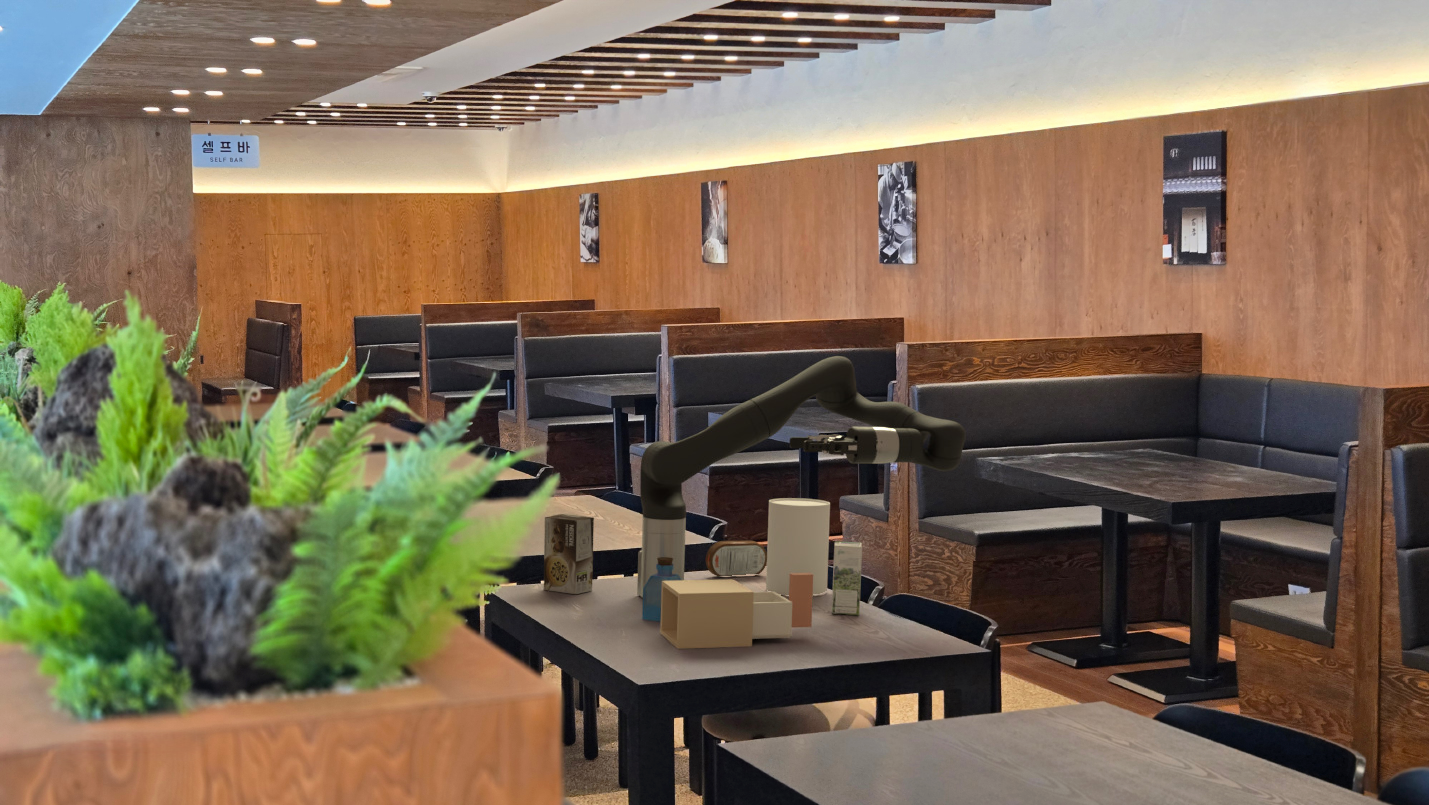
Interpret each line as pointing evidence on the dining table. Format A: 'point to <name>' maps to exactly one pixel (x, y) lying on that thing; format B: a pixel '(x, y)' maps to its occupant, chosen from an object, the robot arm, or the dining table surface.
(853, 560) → the syrup box
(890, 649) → the dining table surface
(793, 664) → the dining table surface
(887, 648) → the dining table surface
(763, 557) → the tin
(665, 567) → the perfume bottle
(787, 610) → the tray
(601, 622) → the dining table surface
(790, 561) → the canister
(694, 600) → the mailer sleeve
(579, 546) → the coffee box
